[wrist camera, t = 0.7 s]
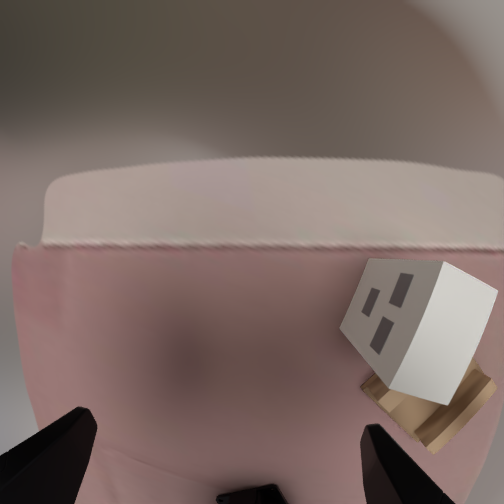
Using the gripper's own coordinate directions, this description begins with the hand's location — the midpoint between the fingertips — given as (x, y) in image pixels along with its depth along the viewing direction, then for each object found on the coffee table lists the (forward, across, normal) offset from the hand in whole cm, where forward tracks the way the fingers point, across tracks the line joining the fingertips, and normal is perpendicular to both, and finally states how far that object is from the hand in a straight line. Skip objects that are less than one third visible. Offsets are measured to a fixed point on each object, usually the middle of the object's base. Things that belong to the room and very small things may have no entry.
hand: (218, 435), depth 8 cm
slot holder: (+13, -15, +11) cm, 23 cm away
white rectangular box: (+16, -10, +4) cm, 19 cm away
